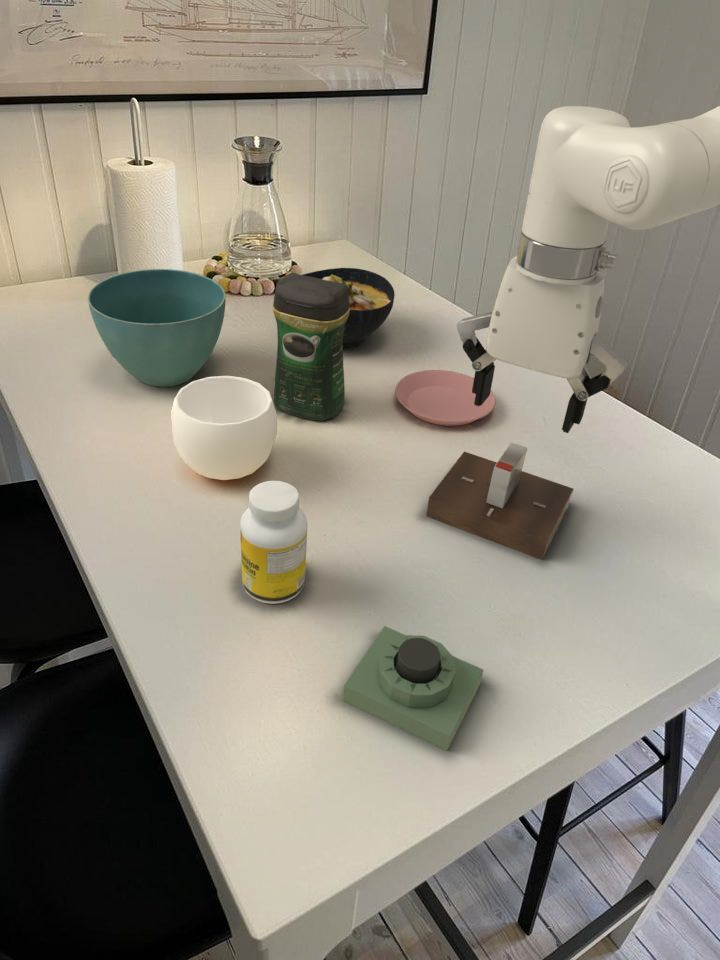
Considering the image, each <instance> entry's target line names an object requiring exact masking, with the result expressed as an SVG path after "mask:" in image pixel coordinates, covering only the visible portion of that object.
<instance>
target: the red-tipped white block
mask: <svg viewBox="0 0 720 960" xmlns="http://www.w3.org/2000/svg"><path fill="white" fill-rule="evenodd" d="M527 451H528V447H527V446H524V445H521V444H518V443H515V442H510V444H508V445H507V448H506V449H505V451H503V453H502V455H501V456H500V458H499V459H498V461H497V464H496V465H495V467H494V469H493V474H492V478H491V483H490V487H489V492H488V497H487V501H486V503H488V504H491V505H494V506H497V507H499V508H503V507H504V505H505V504H506V502H507V501H508V499H509V497H510V496H511V494H512V493H513V491H514V489H515V488H516V486H517V485H518V483H519V480H520V476H521V472H522V471H523V468H524V463H525V460H526V456H527Z"/></svg>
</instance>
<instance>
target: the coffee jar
mask: <svg viewBox="0 0 720 960" xmlns="http://www.w3.org/2000/svg"><path fill="white" fill-rule="evenodd" d="M272 312H273V315H274V318H275V322H276V328H277V329H276V330H277V350H276V361H275V362H276V363H275V373H274V381H273V394H272V397H273V398H272V400H273V404H274V407H275V408H276V409H277V410H278V411H281V412H282V413H286V414H288V415H291V416H294V417H299V418H301V419H302V418H303V419H308V420H312V421H321V422H322V421H326V420H328V419H332V418H333V417H335V416H336V415H338V414H339V413H340V412H341V410H342V409H343V406H344V405H345V398H346V397H345V395H346V390H345V370H344V349H343V330H344V325H345V323H346V321H347V319H348V316H349V312H350V303H349V292H348V287H347V285H346V284H345V283H338V282H332V281H327V280H323V279H318V278H313V277H308V276H303V274H299V273H296V272H295V271H291V272H289V273H287V274H286V275H284V276H283V277H282V278H280V279H279V280H278V281H277V283H276V285H275V289H274V296H273V303H272Z"/></svg>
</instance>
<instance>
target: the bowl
mask: <svg viewBox="0 0 720 960" xmlns="http://www.w3.org/2000/svg"><path fill="white" fill-rule="evenodd" d="M302 275H303V276H308V277H313V278H318V279H323V280H327V281H332V282H338V283H345V284H346V285H347V287H348V292H349V303H350V312H349V316H348V319H347V321H346V323H345V325H344V330H343V350H351V349H355V348H357V347H359V346H361V345H362V344H363V343H364V341H365V340H366V338H367V337H369V336H370V335H371V334H373V333H374V332H376V330H378V329H379V328H380V327H381V326H382V325H383V324H384V323H385V321H386V320H387V318H388V317H389V316H390V313H391V312H392V309H393V307H394V300H395V296H396V295H395V289H394V287H393V285H392V284H391V282H389V280H387V279H386V278H385V277H384V276H382V275H380V274H378V273H377V272H373V271H370V270H367V269H362V268H355V267H336V268H335V267H334V268H326V269H321V270H315V271H312V272H311V271H310V272H307V273H303V274H302Z"/></svg>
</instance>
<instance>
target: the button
mask: <svg viewBox="0 0 720 960" xmlns="http://www.w3.org/2000/svg"><path fill="white" fill-rule="evenodd" d="M439 662H440V652H439V650H438V648H437V647H436V646H435V645H434V644H433V643H432V642H430V641H428V640H426V639H422V638H412V639H408V640H406V641H405V642H403V643H402V644H401V646H400V648H399V651H398V658H397V670H398V672H399V674H400V675H401V676H402V677H403V678H404V679H406V680H408V681H410V682H413V683H426V682H429V681H431V680H432V679H433V678H434V677H435V676H436V674H437V671H438V667H439Z"/></svg>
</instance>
